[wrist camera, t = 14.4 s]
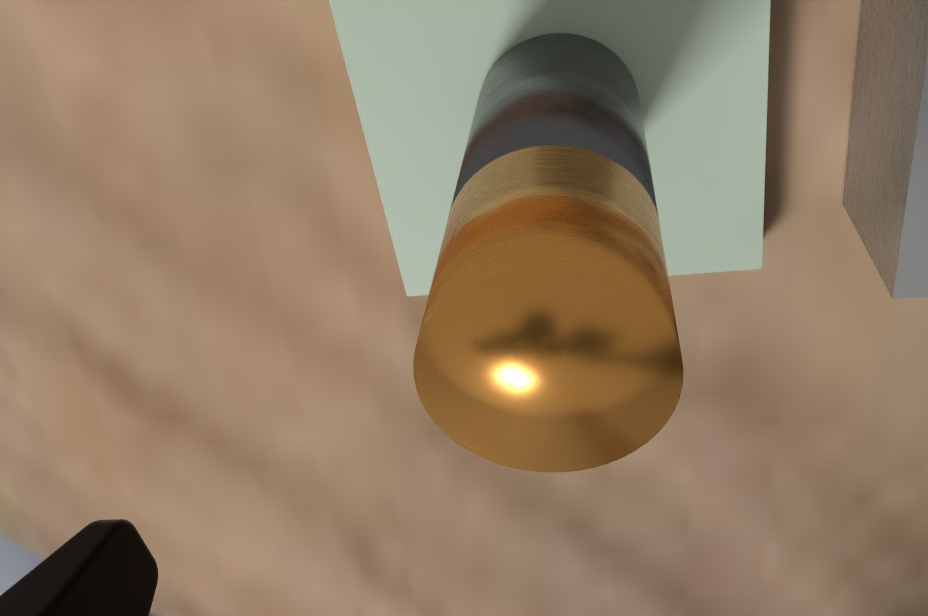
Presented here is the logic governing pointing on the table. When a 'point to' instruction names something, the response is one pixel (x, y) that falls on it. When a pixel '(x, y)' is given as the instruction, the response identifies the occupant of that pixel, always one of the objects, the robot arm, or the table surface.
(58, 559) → the robot arm
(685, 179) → the green mat
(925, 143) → the block
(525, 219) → the gold and grey cylinder
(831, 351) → the table surface
